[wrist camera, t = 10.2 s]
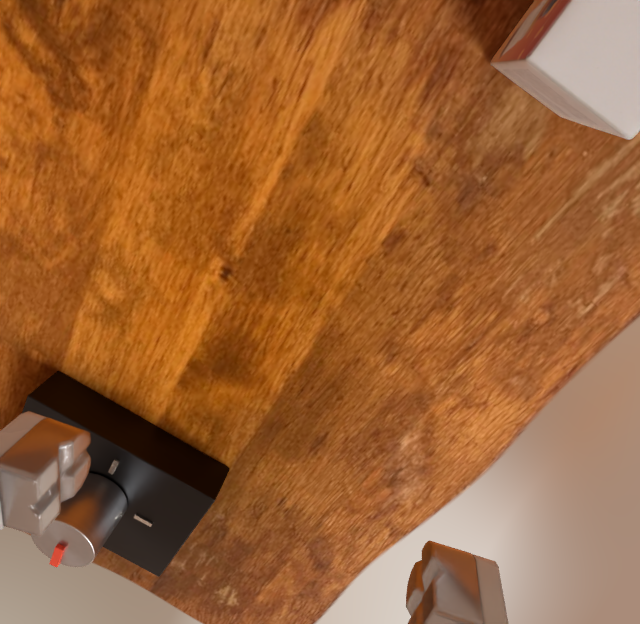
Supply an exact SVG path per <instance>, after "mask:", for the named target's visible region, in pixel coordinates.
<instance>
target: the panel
mask: <svg viewBox="0 0 640 624" xmlns="http://www.w3.org/2000/svg"><path fill="white" fill-rule="evenodd" d="M28 411H30V412H33V413H36V414H39V415H42V416H45V417H48V418H51V419H54V420H57V421H59V422H62V423H65V424H68V425H71V426H74V427H76V428H79V429H82V430H85V431H87V432H89V433H90V437H91V444H90V445H89V446H88V447H87V448H86V451H87V452H88V454H89V455H90V457H91V465H90V469H89V473H94V474H98V475H101V476H103V477H106V478H108V479H109V480H111V481H112V482H114V483H115V484H116V485H117V486H118V487H119V488H120V489H121V490H122V491H123V493H124V494H125V496H126V499H127V510H126V512H125V513H124V515H123V516H122V518H121V519H120V521H119V522H118V524H117V525H116V527H115V528H114V530H113V531H112V533H111V534H110V536H109V537H108V539H107V540H106V542H105V543H104V545H103V547H105V548H106V549H108V550H110V551H112V552H114V553H116V554H118V555H120V556H121V557H123V558H125V559H127V560H129V561H131V562H133V563H134V564H136V565H138V566H140V567H142V568H144V569H146V570H147V571H149V572H151V573H153V574H155V575H157V576H160V575H161V574H162V573H163V571H164V570H165V568H166V567H167V566H168V564H169V563H170V562H171V560H172V559H173V557H174V556H175V555H176V553H177V552H178V551H179V549H180V548H181V546H182V545H183V544H184V542H185V541H186V540H187V538H188V537H189V535H190V534H191V533H192V531H193V530H194V529H195V527H196V526H197V525H198V523H199V522H200V520H201V519H202V518H203V516H204V515H205V514H206V512H207V511H208V509H209V508H210V507H211V505H212V504H213V503H214V501H215V499H216V497H217V495H218V493H219V491H220V489H221V487H222V485H223V482H224V480H225V478H226V476H227V474H228V472H229V468H228V467H226V466H224V465H223V464H221V463H219V462H217V461H216V460H214V459H212V458H210V457H209V456H207V455H205V454H203V453H202V452H200V451H198V450H196V449H195V448H193V447H191V446H189V445H188V444H186V443H184V442H182V441H181V440H179V439H177V438H175V437H173V436H172V435H170V434H168V433H166V432H165V431H163V430H161V429H159V428H158V427H156V426H154V425H152V424H151V423H149V422H147V421H145V420H144V419H142V418H140V417H138V416H137V415H135V414H133V413H131V412H130V411H128V410H126V409H124V408H123V407H121V406H119V405H117V404H116V403H114V402H112V401H110V400H109V399H107V398H105V397H103V396H102V395H100V394H98V393H96V392H95V391H93V390H91V389H89V388H87V387H86V386H84V385H82V384H80V383H79V382H77V381H75V380H73V379H72V378H70V377H68V376H66V375H65V374H63V373H61V372H59V371H57V372H56V373H55V374H54V375H52V376H51V377H50V378H49V379H47V380H46V381H45V382H44V383H43V384H41V385H40V386H39V387H38V388H37V389H35V390H34V391H33V392H32V393H31V394H29V395H28V397H27V400H26V403H25V406H24V409H23V412H22V413H25V412H28Z"/></svg>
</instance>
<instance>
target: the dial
mask: <svg viewBox="0 0 640 624" xmlns="http://www.w3.org/2000/svg"><path fill="white" fill-rule="evenodd" d="M126 510H127V499H126V496H125V494H124V493H123V491H122V490H121V489H120V488H119V487H118V486H117V485H116V484H115V483H114V482H112V481H111V480H109V479H108V478H106V477H103V476H101V475H98V474H94V473H88V476H87V477H86V479H85V481H84V483H83V485H82V487H81V488H80V489H79V491H78V492H77V493H76V494H75V496H74V497H72V498H69V499H67V500H65V501H63V502H61V513H60V514H59V515H58V516H57V517H56V518H55V520H54V521H53V522H52V523H51V524H50V526H49V527H48V528H47V529H46V530H45V532H44V533H43V534H42V535H41V536H40V537H39V536H36V535H33V534H31V537H32V539H33V541H34V543H35V544H36V546H37V547H38V548H39V550H40V551H41V552H42V553H44V554H45V555H46V556H48V557H49V558H51V560H50V564H51V565H53V566H55V567H58V565H59V564H63V565H66V566H71V567H83V566H86V565H89V564H90V563H91V562H92V561H93V560H94V558H95V557H96V555H97V554H98V552H99V551H100V549H101V548H102V546H103V545H104V543H105V542H106V540H107V539H108V537H109V536H110V534H111V533H112V531H113V530H114V528H115V527H116V525H117V524H118V522H119V521H120V519H121V518H122V516H123V515H124V513H125V512H126Z"/></svg>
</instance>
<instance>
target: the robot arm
mask: <svg viewBox="0 0 640 624" xmlns="http://www.w3.org/2000/svg"><path fill="white" fill-rule="evenodd" d="M90 444H91V437H90V433H89V432H87V431H85V430H82V429H79V428H76V427H74V426H71V425H68V424H65V423H62V422H59V421H57V420H54V419H51V418H48V417H45V416H42V415H39V414H36V413H33V412H30V411H28V412H25V413H22V414H20V415H19V416H18V417H16V418H15V419H14V420H13V421H12V422H10V423H9V424H8V425H7V426H6V427H4V428H3V429H2V430H1V431H0V530H1V529H3V528H4V526H6V527H10V528H13V529H16V530H20V531H23V532H26V533H29V534H33V535H36V536H39V537H40V536H41V535H42V534H43V533H44V532H45V530H46V529H47V528H48V527H49V526H50V524H51V523H52V522H53V521H54V520H55V518H56V517H57V516H58V515H59V514H60V513H61V502H63V501H65V500H67V499H69V498H72V497H74V496H75V494H76V493H77V492H78V491H79V489H80V488H81V487H82V485H83V483H84V481H85V479H86V477H87V476H88V473H89V469H90V465H91V457H90V455H89V454H88V452H87V451H86V448H87V447H88V446H89V445H90ZM406 608H407V609H408V611H409V613H410V615H411V619H410V620H409V623H408V624H508V619H507V613H506V607H505V602H504V597H503V590H502V584H501V579H500V573H499V567H498V565H497V564H496V562H495V561H492V560H489V559H485V558H483V557H479V556H476V555H472V554H471V553H468V552H465V551H461V550H458V549H455V548H451V547H448V546H445V545H442V544H439V543H435V542H432V541H428V542H427V543H426V544H425V546H424V548H423V550H422V560H421V561H419V562H416V563H415V565H414V567H413V569H412V571H411V574H410V578H409V581H408V586H407V596H406Z"/></svg>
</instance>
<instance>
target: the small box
mask: <svg viewBox="0 0 640 624" xmlns="http://www.w3.org/2000/svg"><path fill="white" fill-rule="evenodd" d="M491 65H492V66H493V67H495V68H496V69H497V70H498V71H500V72H501V73H502V74H504V75H505V76H506V77H508V78H509V79H510V80H511V81H513V82H514V83H515V84H517V85H518V86H519V87H521V88H522V89H523V90H525V91H526V92H527V93H529V94H530V95H531V96H533V97H534V98H535V99H537V100H538V101H539V102H541V103H542V104H543V105H545V106H546V107H547V108H549V109H550V110H552V111H553V112H554V113H556V114H557V115H558V116H560V117H561V118H565V119H568V120H571V121H574V122H576V123H579V124H582V125H585V126H588V127H591V128H594V129H597V130H601V131H604V132H607V133H610V134H612V135H616V136H618V137H621V138H624V139H628V140H630V139H633V138H634V137H635V136H636V135H637V133H638V132H639V131H640V0H534V2H533V3H532V4H531V6H530V7H529V8H528V10H527V11H526V13H525V14H524V15H523V17H522V18H521V19H520V21H519V22H518V24H517V25H516V26H515V28H514V29H513V31H512V32H511V33H510V35H509V36H508V38H507V39H506V40H505V42H504V43H503V45H502V46H501V47H500V49H499V50H498V51H497V53H496V54H495V56H494V57H493V58H492V60H491Z"/></svg>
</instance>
